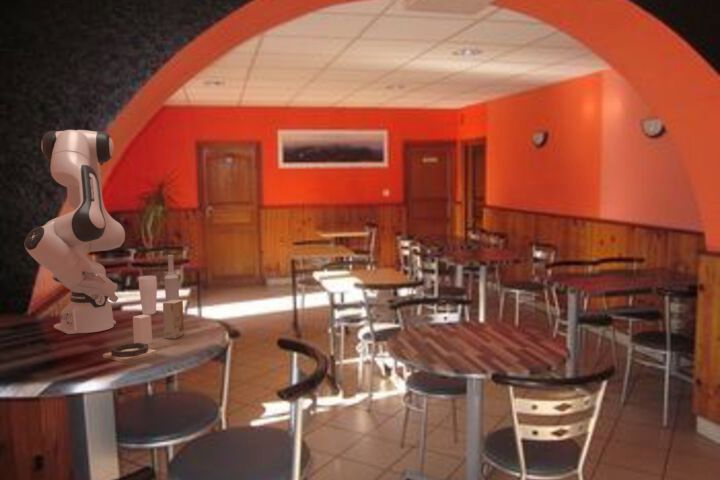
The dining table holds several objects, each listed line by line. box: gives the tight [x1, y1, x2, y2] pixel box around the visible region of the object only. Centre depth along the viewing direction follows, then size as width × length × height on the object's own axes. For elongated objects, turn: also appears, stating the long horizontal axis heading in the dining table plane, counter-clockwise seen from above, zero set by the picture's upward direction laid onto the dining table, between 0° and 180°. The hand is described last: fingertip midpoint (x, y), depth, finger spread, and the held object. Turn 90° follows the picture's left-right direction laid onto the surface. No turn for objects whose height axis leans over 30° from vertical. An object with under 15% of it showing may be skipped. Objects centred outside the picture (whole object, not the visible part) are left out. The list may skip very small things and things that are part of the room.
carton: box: [132, 314, 153, 345], centre depth 195 cm, size 4×4×9 cm
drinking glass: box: [138, 275, 158, 316], centre depth 239 cm, size 7×7×15 cm
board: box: [102, 342, 158, 364], centre depth 182 cm, size 11×11×2 cm
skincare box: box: [162, 299, 185, 340], centre depth 203 cm, size 6×4×12 cm
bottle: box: [163, 254, 180, 302], centre depth 227 cm, size 5×5×25 cm
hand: (106, 298), depth 184 cm, fingers open, 8 cm apart
